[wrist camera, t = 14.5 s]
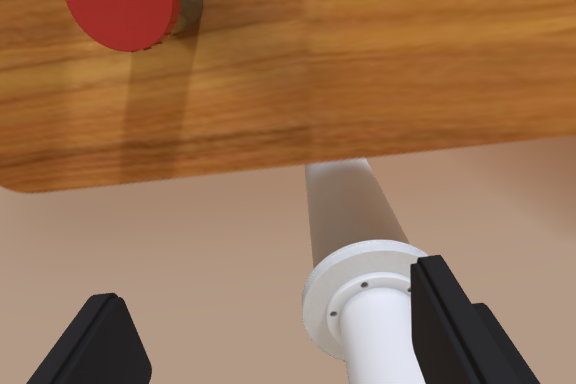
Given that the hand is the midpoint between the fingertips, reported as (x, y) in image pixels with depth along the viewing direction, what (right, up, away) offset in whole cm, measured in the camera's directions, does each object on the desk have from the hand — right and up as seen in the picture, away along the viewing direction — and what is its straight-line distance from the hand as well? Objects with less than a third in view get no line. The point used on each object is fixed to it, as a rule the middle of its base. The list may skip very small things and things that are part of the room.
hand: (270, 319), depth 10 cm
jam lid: (-10, +16, +13) cm, 23 cm away
